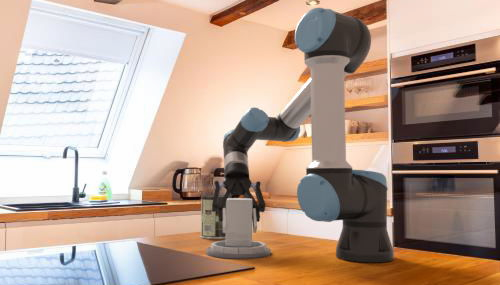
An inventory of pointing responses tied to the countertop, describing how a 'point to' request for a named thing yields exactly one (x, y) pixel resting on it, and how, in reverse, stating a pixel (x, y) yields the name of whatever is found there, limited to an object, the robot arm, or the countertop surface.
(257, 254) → the collar plate
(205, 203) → the coffee can
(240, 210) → the supplement box
